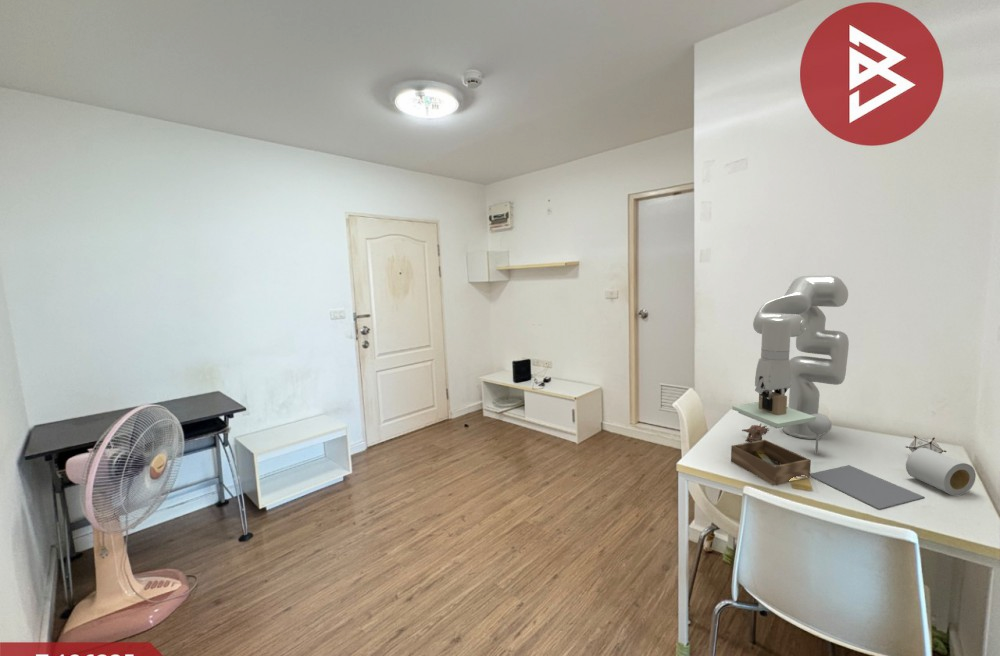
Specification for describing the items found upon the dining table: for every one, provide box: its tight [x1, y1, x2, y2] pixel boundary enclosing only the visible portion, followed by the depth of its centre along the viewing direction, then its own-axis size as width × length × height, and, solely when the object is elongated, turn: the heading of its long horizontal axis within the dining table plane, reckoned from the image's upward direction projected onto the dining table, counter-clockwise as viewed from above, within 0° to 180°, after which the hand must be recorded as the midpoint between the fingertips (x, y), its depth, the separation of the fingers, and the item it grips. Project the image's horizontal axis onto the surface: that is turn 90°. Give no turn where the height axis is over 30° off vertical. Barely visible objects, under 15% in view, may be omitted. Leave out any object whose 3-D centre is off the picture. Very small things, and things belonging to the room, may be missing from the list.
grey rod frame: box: [905, 435, 948, 454], centre depth 135 cm, size 9×8×10 cm
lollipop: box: [806, 413, 832, 455], centre depth 142 cm, size 7×7×15 cm
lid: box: [732, 391, 815, 429], centre depth 131 cm, size 15×17×8 cm
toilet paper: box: [905, 448, 977, 497], centre depth 119 cm, size 10×10×10 cm
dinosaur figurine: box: [741, 423, 770, 443], centre depth 153 cm, size 14×6×9 cm, turn 173°
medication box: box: [756, 451, 776, 466], centre depth 134 cm, size 12×3×4 cm, turn 163°
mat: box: [810, 464, 925, 511], centre depth 122 cm, size 18×20×1 cm
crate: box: [730, 439, 812, 486], centre depth 134 cm, size 15×17×6 cm
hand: (772, 408), depth 131 cm, fingers closed on lid, 3 cm apart
